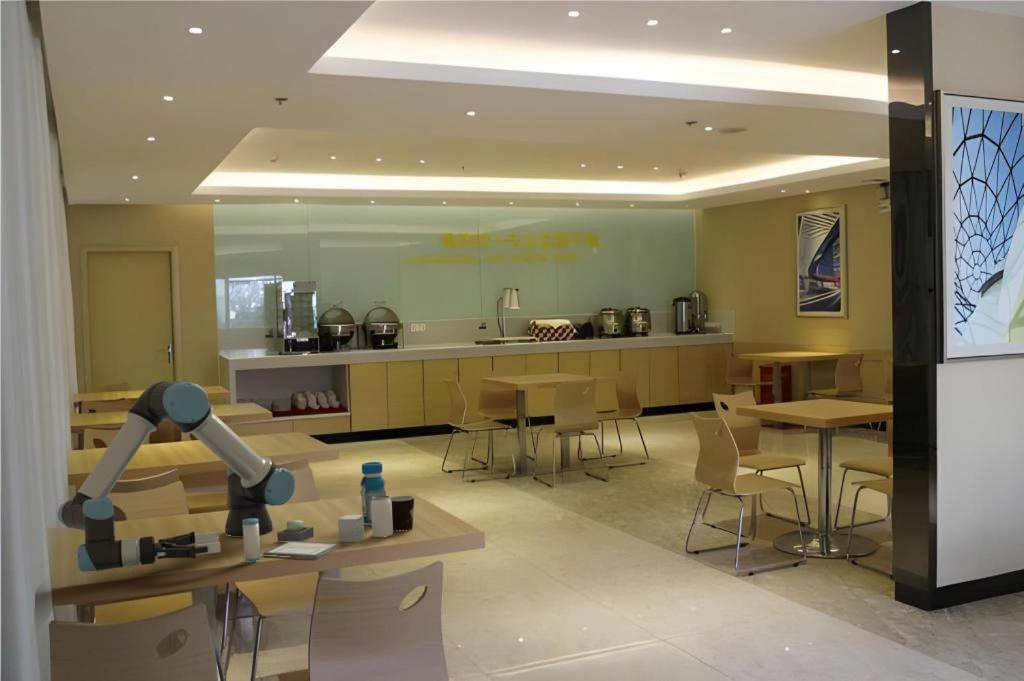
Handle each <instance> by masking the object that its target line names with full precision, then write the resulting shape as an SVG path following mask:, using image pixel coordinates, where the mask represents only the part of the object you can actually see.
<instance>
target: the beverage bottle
mask: <svg viewBox="0 0 1024 681" xmlns="http://www.w3.org/2000/svg"><path fill="white" fill-rule="evenodd" d="M361 472H362V475H363V477H362V478H361V481H360V487H361V489H360V496H361V508H362V510H361V511H362V513H361V514H362V515H363V520H364V526H372V519H371V501H372V498H373V497H376V496H387V488H386V487H385V485H386V480H385V478H384V477H383V475H382V473H383V463H382V462H380V461H370V462H364V463H362V464H361Z"/></svg>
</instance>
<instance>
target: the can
mask: <svg viewBox="0 0 1024 681" xmlns="http://www.w3.org/2000/svg"><path fill="white" fill-rule="evenodd" d="M371 519H372V525H371V531H372V532H371V533H372V536H373V537H374V536H375V537H374V538H376V537H384V536H389V537H391V536H393V534H394V531H393V521H392V504H391V500H390V495H386V496H376V497H373V498H372V501H371ZM390 535H391V536H390ZM384 538H385V537H384Z"/></svg>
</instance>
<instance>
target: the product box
mask: <svg viewBox="0 0 1024 681" xmlns="http://www.w3.org/2000/svg"><path fill="white" fill-rule="evenodd" d="M337 521H338V539H339V542H338V543H358V542H360V541H361V539H362V538H363V539H365V524H364V520H363V514H345V515H343V516H341V517H339V518H338V519H337ZM363 539H362V540H363Z"/></svg>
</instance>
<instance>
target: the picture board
mask: <svg viewBox="0 0 1024 681" xmlns="http://www.w3.org/2000/svg"><path fill="white" fill-rule="evenodd" d="M337 548H338V549H341V548H342V542H325V541H307V540H305V541H289V542H283V543H282V544H279V545H278V546H275V547H273V548H270V549H268V550H266V551H264V552H262V556H263V555H277V556H290V557H297V558H296V559H304V560H318V559H320V558H322V557H324V556H326V555H328V554H330V553H332V552H334V551H336V550H338V549H337ZM335 549H336V550H335Z"/></svg>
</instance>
